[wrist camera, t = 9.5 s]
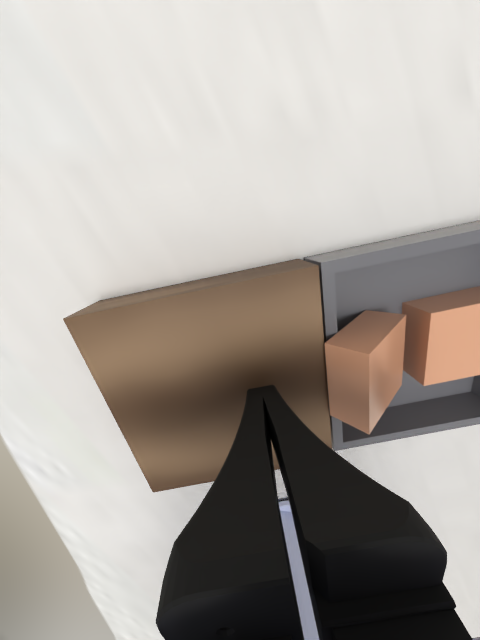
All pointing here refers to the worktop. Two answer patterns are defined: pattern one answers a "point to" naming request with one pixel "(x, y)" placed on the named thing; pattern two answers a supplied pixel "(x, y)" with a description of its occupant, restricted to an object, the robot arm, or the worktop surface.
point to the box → (387, 296)
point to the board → (206, 363)
